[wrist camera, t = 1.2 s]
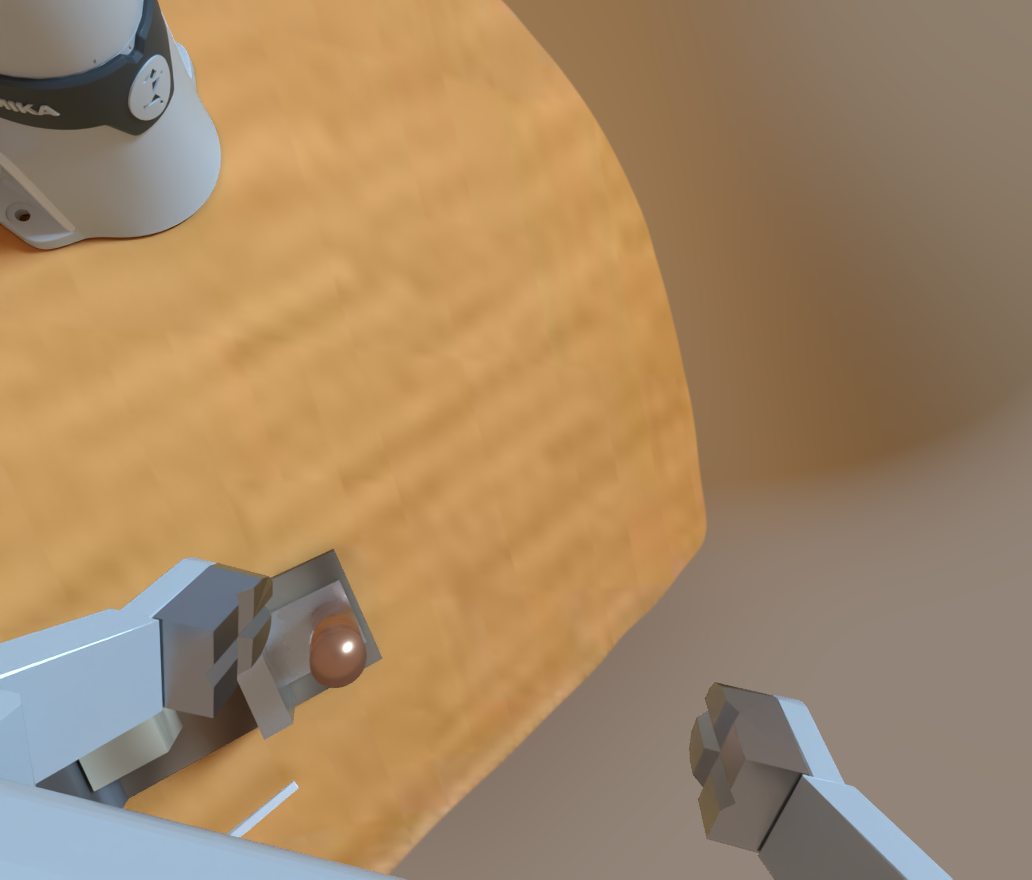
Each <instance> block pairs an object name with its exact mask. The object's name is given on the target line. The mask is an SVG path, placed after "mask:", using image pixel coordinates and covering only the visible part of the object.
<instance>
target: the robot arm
mask: <svg viewBox="0 0 1032 880" xmlns="http://www.w3.org/2000/svg"><path fill="white" fill-rule="evenodd" d="M220 163H221V153H220V144H219V139H218V135H217V132H216V129H215V127H214V124H213V122H212V120H211V118H210V116H209V114H208V113H207V111H206V109H205V107H204V106H203V104H202V102H201V100H200V98H199V96H198V94H197V92H196V83H195V74H194V68H193V64H192V62H191V59H190V57H189V55H188V53H187V51H186V49H185V48H184V47H183V46H182V45H181V44H179V43H178V42H176V41H174V39H173V36H172V34H171V32H170V30H169V27H168V25H167V23H166V21H165V18H164V16H163V14H162V12H161V10H160V7H159V4H158V1H157V0H0V223H1V224H2V225H3V226H5V227H6V228H7V229H9V230H10V231H11V232H13V233H14V234H15V235H17V236H18V237H20V238H21V239H22V240H24V241H25V242H26V243H28V244H29V245H31V246H33V247H35V248H39V249H53V248H58V247H62V246H65V245H68V244H71V243H74V242H77V241H80V240H83V239H86V238H93V237H137V236H144V235H149V234H153V233H157V232H160V231H163V230H166V229H169V228H171V227H173V226H175V225H177V224H179V223H181V222H183V221H184V220H186V219H187V218H189V217H190V216H191V215H192V214H194V213H195V212H196V211H197V210H198V209H199V208H200V207H201V206H202V205H203V204H204V203H205V201H206V200H207V199H208V197H209V196H210V194H211V192H212V191H213V189H214V187H215V184H216V182H217V178H218V175H219V170H220ZM25 214H29V215H30V219H29V220H27V221H20V217H21V216H22V215H25ZM272 596H273V580H272V579H271V578H270V577H269V576H265V575H261V574H258V573H254V572H250V571H246V570H242V569H239V568H235V567H231V566H227V565H223V564H219V563H217V564H216V563H214V562H210V561H206V560H202V559H198V558H195V557H189V558H184V559H182V560H181V561H180V562H178V563H177V564H176V565H175V566H174V567H172V568H171V569H170V570H169V571H167V572H166V573H165V574H164V575H162V576H161V577H160V578H159V579H157V580H156V581H155V582H154V583H153V584H151V585H150V586H149V587H148V588H146V589H145V590H144V591H143V592H141V593H140V594H139V595H138V596H137V597H135V598H134V599H133V600H132V601H130V602H129V603H128V604H127V605H125V606H124V607H123V608H122V609H121V610H115V609H107V610H104V611H101V612H98V613H95V614H92V615H88V616H85V617H82V618H79V619H76V620H73V621H69V622H66V623H63V624H60V625H57V626H54V627H50V628H47V629H44V630H41V631H38V632H35V633H31V634H28V635H25V636H22V637H19V638H16V639H12V640H9V641H6V642H3V643H0V880H406V879H402V878H398V877H394V876H390V875H386V874H382V873H378V872H375V871H371V870H367V869H363V868H359V867H355V866H351V865H347V864H343V863H339V862H335V861H331V860H327V859H323V858H319V857H315V856H311V855H307V854H303V853H299V852H295V851H291V850H287V849H283V848H279V847H275V846H271V845H267V844H263V843H259V842H255V841H251V840H247V839H243V838H239V837H235V836H231V835H227V834H223V833H219V832H215V831H211V830H207V829H203V828H199V827H195V826H191V825H187V824H183V823H179V822H175V821H171V820H167V819H163V818H159V817H155V816H151V815H147V814H143V813H139V812H135V811H131V810H127V809H123V808H119V807H115V806H111V805H107V804H103V803H99V802H95V801H91V800H87V799H83V798H79V797H75V796H71V795H67V794H63V793H59V792H55V791H51V790H47V789H43V788H39V787H36V785H35V784H37V783H38V782H40V781H42V780H43V779H45V778H47V777H49V776H50V775H52V774H54V773H56V772H57V771H59V770H61V769H62V768H64V767H66V766H68V765H69V764H71V763H73V762H75V761H76V760H78V759H80V758H81V757H83V756H85V755H87V754H88V753H90V752H92V751H94V750H95V749H97V748H99V747H100V746H102V745H104V744H106V743H107V742H109V741H111V740H113V739H114V738H116V737H118V736H120V735H121V734H123V733H125V732H126V731H128V730H130V729H132V728H133V727H135V726H137V725H139V724H140V723H142V722H144V721H145V720H147V719H149V718H151V717H152V716H154V715H156V714H158V713H159V712H161V711H162V710H163V708H168V709H172V710H177V711H182V712H187V713H191V714H196V715H201V716H205V717H210V718H214V717H215V715H216V714H217V713H218V711H219V710H220V709H221V707H222V706H223V705H224V703H225V702H226V701H227V700H228V698H229V697H230V696H231V694H232V693H233V692H234V690H235V689H236V688H237V675H238V674H240V673H242V672H244V671H246V670H248V669H250V668H252V666H253V665H254V664H255V662H256V661H257V660H258V658H259V657H260V655H261V653H262V651H263V649H264V647H265V645H266V642H267V640H268V637H269V632H270V628H271V617H272V616H271V614H270V612H269V611H268V609H267V608H266V606H265V604H266V603H267V602H268V601H269V599H270V598H271V597H272ZM705 701H706V704H707V708H708V711H706V712H705V713H703V714H702V715H700V716H698V717H697V718H696V721H695V724H694V726H693V729H692V732H691V739H690V747H689V751H690V763H691V768H692V773H693V775H694V777H695V778H696V779H697V780H698V782H699V783H700V784H701V785H702V787H703V789H702V792H701V794H700V796H699V798H698V801H699V806H700V810H701V815H702V819H703V824H704V828H705V833H706V838H707V839H709V840H713V841H717V842H720V843H724V844H727V845H732V846H735V847H739V848H742V849H746V850H749V851H753V852H756V853H759V855H758V856H759V858H760V859H761V861H762V862H763V864H764V865H765V867H766V868H767V870H768V871H769V873H770V874H771V875H772V877H773V878H774V880H953V879H952V878H951V877H950V876H949V875H948V874H947V873H946V872H945V871H943V870H942V869H941V868H940V867H939V866H938V865H937V864H936V863H935V862H934V861H933V860H932V859H931V858H929V856H927V855H926V854H925V853H924V852H923V851H922V850H921V849H920V848H919V847H918V846H917V845H916V844H915V843H914V842H912V841H911V840H910V839H909V838H908V837H907V836H906V835H905V834H904V833H903V832H902V831H901V830H900V829H899V828H897V826H895V825H894V824H893V823H892V822H891V821H890V820H889V819H888V818H887V817H886V816H885V815H884V814H883V813H881V812H880V811H879V810H878V809H877V808H876V807H875V806H874V805H873V804H872V803H871V802H870V801H869V800H868V799H866V797H864V796H863V795H862V794H861V793H860V792H859V791H858V790H857V789H856V788H855V787H852V786H848V785H845V784H844V781H843V779H842V777H841V775H840V774H839V771H838V769H837V767H836V765H835V763H834V761H833V759H832V757H831V755H830V753H829V751H828V749H827V747H826V745H825V743H824V741H823V739H822V737H821V735H820V733H819V731H818V729H817V727H816V725H815V723H814V721H813V719H812V717H811V715H810V713H809V711H808V709H807V707H806V705H804V704H803V703H802V702H801V701H800V700H795V699H790V698H786V697H781V696H776V695H768V694H764V693H760V692H756V691H751V690H747V689H743V688H738V687H734V686H730V685H725V684H721V683H716V682H715V683H714V684H713V685H712V686H711V687H710V688H709V691H708V693H707V695H706V697H705Z"/></svg>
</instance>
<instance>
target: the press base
mask: <svg viewBox="0 0 1032 880" xmlns="http://www.w3.org/2000/svg"><path fill="white" fill-rule="evenodd" d="M338 578H339V580H340V583H341V585H342V587H343V589H344V591H345V594H346V596H347V598H348V600H349V603H350V605H351V607H352V609H353V612H354V614H355V616H356V618H357V621H358V623H359V625H360V627H361V630H362V632H363V634H364V636H365V639H366V641H367V642H366V643H364V645H365V648H366V652H367V659H366V664H365V667H364V668H366V667H368V666H369V665H371V664H373V663H375V662H377V661H378V660H380V659H382V657H381V654H380V652H379V650H378V648H377V645H376V643H375V641H374V639H373V636H372V634H371V632H370V630H369V627H368V625H367V623H366V621H365V618H364V616H363V614H362V612H361V609H360V607H359V605H358V603H357V600H356V598H355V596H354V594H353V591H352V589H351V587H350V585H349V583H348V580H347V578H346V576H345V574H344V571H343V569H342V567H341V565H340V562H339V560H338V558H337V556H336V553H335V551H334V549H332V550H330V551H328V552H326V553H323V554H321V555H319V556H317V557H315V558H313V559H311V560H308V561H306V562H304V563H302V564H300V565H298V566H295V567H293V568H291V569H289V570H287V571H285V572H282V573H280V574H278V575H276V576H274V577H272V578H271V579H272V580H273V596H272V597H271V598H270V599H269V601H268V602H267V603H266V604H265V606H266V608H267V609H268V611H269V612H270V611H272V610H274V609H276V608H278V607H280V606H282V605H284V604H286V603H289V602H291V601H293V600H295V599H297V598H299V597H301V596H303V595H305V594H307V593H309V592H311V591H313V590H315V589H317V588H320V587H322V586H324V585H326V584H328V583H330V582H332V581H334V580H336V579H338ZM289 687H290V689H291V691H292V693H293V695H294V698H295V706H297V705H299V704H301V703H302V702H304V701H306V700H308V699H310V698H311V697H313V696H315V695H317V694H319V693H321V692H322V691H324V690H326V689H328V688H330V687H326V686H323V685H321V684H320V683H319V682H317V681H316V680H315V678H314V677H313V675H312V673H311V672H310V673H308V674H306V675H304V676H303V677H301V678H299V679H297V680H295V681H293V682H291V683H289ZM175 711H176V713H177V715H178V717H179V719H180V721H181V723H182V726H183V727H182V729H181V731H180V733H179V734H178V736H177V738H176V739H175V741H174V743H173V745H172V746H171V748H170V750H169V751H168V752H167V753H165V754H163V755H161V756H160V757H158V758H156V759H154V760H152V761H150V762H148V763H147V764H145V765H143V766H141V767H139V768H137V769H135V770H134V771H132V772H130V773H128V774H126V775H124V776H122V777H121V778H119V779H117V780H115V781H113V782H111V783H109V784H107V785H106V786H104V787H102V788H100V789H98V790H96V791H94V790H93V788H92V786H91V784H90V782H89V780H88V778H87V776H86V773H85V771H84V769H83V767H82V765H81V763H80V761H79V759H78V760H76V761H75V762H73V763H71V764H69V765H68V766H66V767H64V768H62V769H61V770H59V771H57V772H56V773H54V774H52V775H50V776H49V777H47V778H45V779H43V780H42V781H40V782H38V783H37V784H35V785H36V787H39V788H43V789H47V790H51V791H55V792H59V793H63V794H67V795H71V796H75V797H79V798H83V799H87V800H91V801H95V802H99V803H103V804H107V805H111V806H115V807H119V808H123V806H124V805H125V803H126V802H127V800H128V799H129V798H130V797H132V796H134V795H136V794H138V793H139V792H141V791H143V790H145V789H147V788H148V787H150V786H152V785H154V784H156V783H157V782H159V781H161V780H163V779H165V778H167V777H168V776H170V775H172V774H174V773H176V772H177V771H179V770H181V769H183V768H185V767H186V766H188V765H190V764H192V763H194V762H196V761H197V760H199V759H201V758H203V757H205V756H206V755H208V754H210V753H212V752H214V751H215V750H217V749H219V748H221V747H223V746H225V745H226V744H228V743H230V742H232V741H234V740H235V739H237V738H239V737H241V736H243V735H244V734H246V733H248V732H250V731H252V730H253V729H255V728H257V727H258V725H257V722H256V720H255V718H254V716H253V714H252V711H251V709H250V707H249V705H248V703H247V701H246V698H245V696H244V694H243V692H242V690H241V687H240V685H239V683H238V681H237V688H236V689H235V690H234V692H233V693H232V694H231V696H230V697H229V698H228V700H227V701H226V702H225V703H224V705H223V706H222V707H221V709H220V710H219V711H218V713H217V714H216V715H215V717H214V718H210V717H205V716H201V715H196V714H191V713H187V712H182V711H177V710H175Z"/></svg>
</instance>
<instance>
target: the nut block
mask: <svg viewBox="0 0 1032 880" xmlns="http://www.w3.org/2000/svg"><path fill="white" fill-rule="evenodd" d="M182 727H183V726H182V723H181V721H180V719H179V717H178V715H177V713H176V711H175V710H172V709H168V708H163V710H162V711H161V712H159V713H158V714H156V715H154V716H152V717H151V718H149V719H147V720H145V721H144V722H142V723H140V724H139V725H137V726H135V727H133V728H132V729H130V730H128V731H126V732H125V733H123V734H121V735H120V736H118V737H116V738H114V739H113V740H111V741H109V742H107V743H106V744H104V745H102V746H100V747H99V748H97V749H95V750H94V751H92V752H90V753H88V754H87V755H85V756H83V757H81V758H80V759H79V761H80V763H81V765H82V767H83V769H84V771H85V773H86V776H87V778H88V780H89V782H90V784H91V786H92V788H93V790H94V791H96V790H98V789H100V788H102V787H104V786H106V785H107V784H109V783H111V782H113V781H115V780H117V779H119V778H121V777H122V776H124V775H126V774H128V773H130V772H132V771H134V770H135V769H137V768H139V767H141V766H143V765H145V764H147V763H148V762H150V761H152V760H154V759H156V758H158V757H160V756H161V755H163V754H165V753H167V752H168V751H169V750H170V748H171V746H172V745H173V743H174V741H175V739H176V738H177V736H178V734H179V733H180V731H181V729H182Z"/></svg>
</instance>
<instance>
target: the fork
mask: <svg viewBox="0 0 1032 880" xmlns="http://www.w3.org/2000/svg"><path fill="white" fill-rule="evenodd" d="M297 789H298V786H297V784H296V783H295V782H294V781H293V782H291V783H290V784H289V785H288V786H286V787H285V788H284V789H283V790H281V791H280V792H279V793H278V794H276V795H275V796H274V797H272V798H271V799H270V800H269V801H267V802H266V803H265V804H264V805H262V806H261V807H260V808H258V809H257V810H256V811H255V812H253V813H252V814H251V815H250V816H248V817H247V818H246V819H244V820H243V821H242V822H241V823H239V824H238V825H237V826H235V827H234V828H233V829H232V830H230V831H229V832H228V833H226V834H227V835H231V836H235V837H239V838H240V837H241V836H242V835H244V834H245V833H246V832H247V831H248V830H250V829H251V828H252V827H253V826H254V825H255V824H257V823H258V822H259V821H260V820H261V819H263V818H264V817H265V816H266V815H267V814H268V813H270V812H271V811H272V810H273V809H274V808H276V807H277V806H278V805H279V804H280V803H281V802H283V801H284V800H285V799H286V798H287V797H289V796H290V795H291V794H292V793H293V792H294V791H296V790H297Z"/></svg>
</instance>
